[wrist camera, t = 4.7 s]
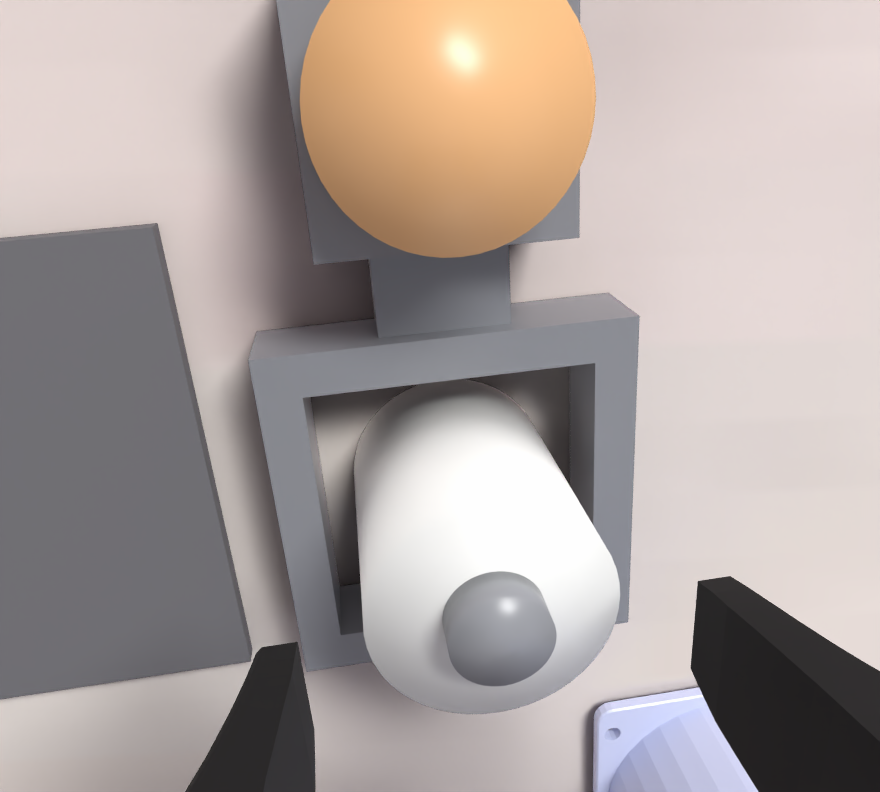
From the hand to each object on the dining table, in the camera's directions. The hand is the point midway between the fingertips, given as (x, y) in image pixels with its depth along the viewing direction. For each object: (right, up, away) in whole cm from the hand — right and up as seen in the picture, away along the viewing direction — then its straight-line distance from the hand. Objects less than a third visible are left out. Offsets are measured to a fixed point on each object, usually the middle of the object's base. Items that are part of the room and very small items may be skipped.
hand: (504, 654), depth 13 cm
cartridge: (-1, +3, +7) cm, 7 cm away
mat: (-11, +2, +5) cm, 12 cm away
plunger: (-2, +11, +2) cm, 11 cm away
